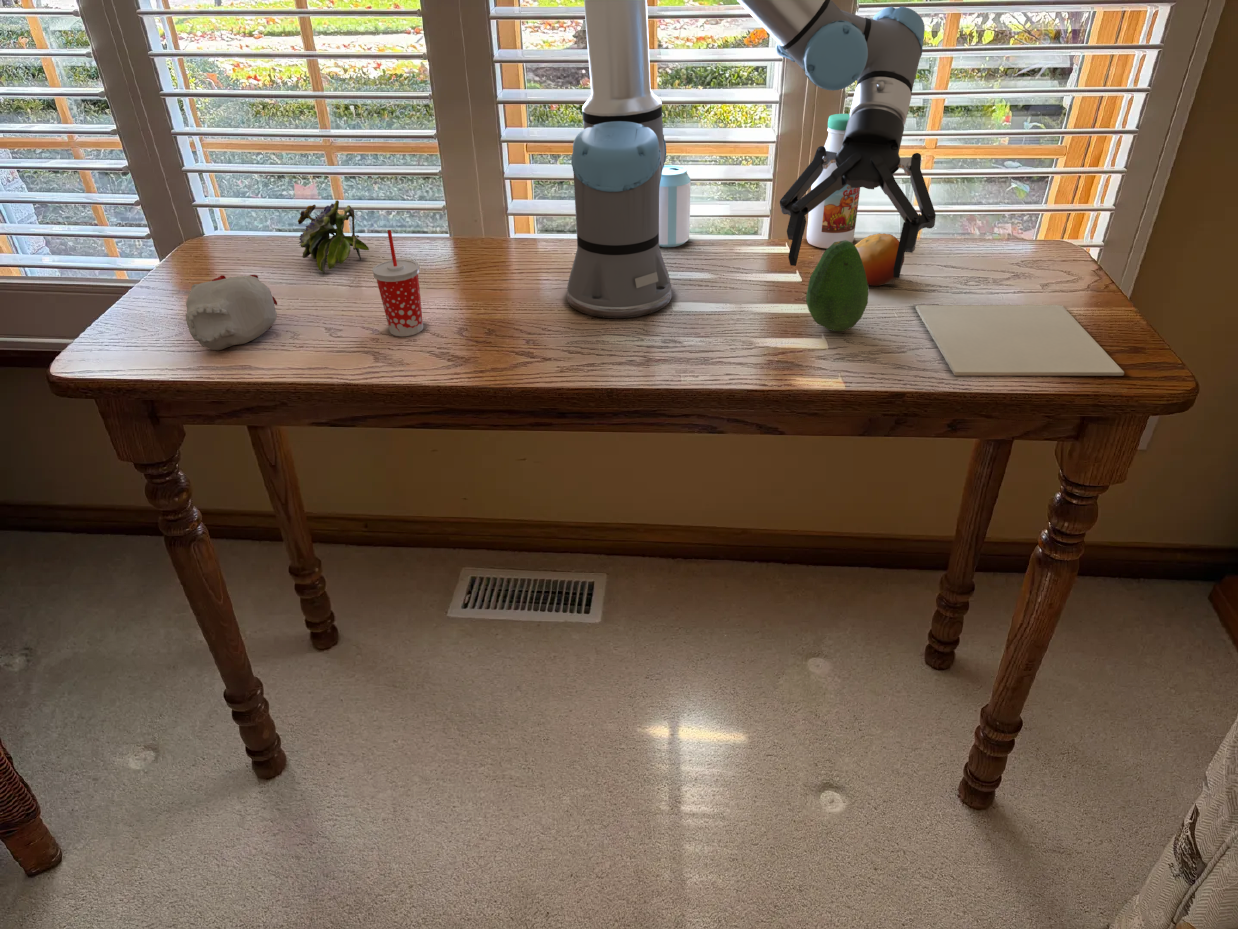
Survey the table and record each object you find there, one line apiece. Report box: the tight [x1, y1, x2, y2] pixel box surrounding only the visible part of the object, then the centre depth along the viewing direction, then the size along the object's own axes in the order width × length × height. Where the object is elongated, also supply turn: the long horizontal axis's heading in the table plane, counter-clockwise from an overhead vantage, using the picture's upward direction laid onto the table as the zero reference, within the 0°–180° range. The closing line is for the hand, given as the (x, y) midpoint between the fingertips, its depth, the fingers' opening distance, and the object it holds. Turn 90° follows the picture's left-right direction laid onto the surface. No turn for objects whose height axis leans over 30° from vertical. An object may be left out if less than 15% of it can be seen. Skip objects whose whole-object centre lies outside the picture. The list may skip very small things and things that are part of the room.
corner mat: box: [915, 304, 1125, 377], centre depth 113 cm, size 20×20×1 cm
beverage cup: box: [371, 229, 424, 337], centre depth 116 cm, size 6×6×14 cm
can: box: [659, 164, 692, 248], centre depth 143 cm, size 7×7×12 cm
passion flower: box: [297, 199, 370, 275], centre depth 140 cm, size 11×11×12 cm
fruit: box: [854, 233, 905, 287], centre depth 129 cm, size 8×8×8 cm
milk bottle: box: [806, 113, 861, 250], centre depth 139 cm, size 8×8×20 cm
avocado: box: [805, 240, 869, 332], centre depth 113 cm, size 8×8×12 cm
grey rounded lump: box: [185, 274, 278, 351], centre depth 117 cm, size 9×11×15 cm
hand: (843, 267), depth 114 cm, fingers open, 13 cm apart
